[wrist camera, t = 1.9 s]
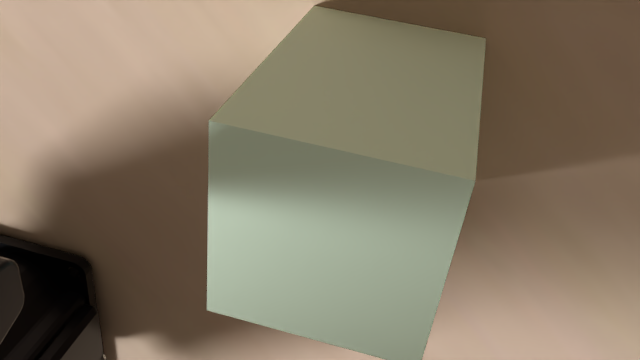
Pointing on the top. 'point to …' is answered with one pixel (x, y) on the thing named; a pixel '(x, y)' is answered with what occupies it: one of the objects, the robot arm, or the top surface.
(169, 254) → the top surface
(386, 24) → the sage block
